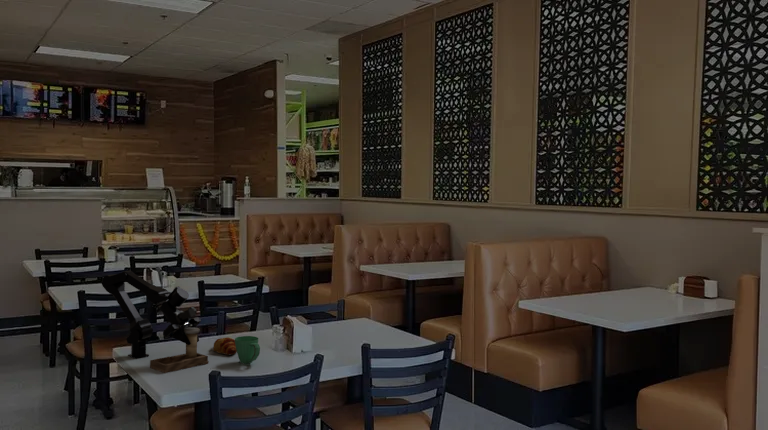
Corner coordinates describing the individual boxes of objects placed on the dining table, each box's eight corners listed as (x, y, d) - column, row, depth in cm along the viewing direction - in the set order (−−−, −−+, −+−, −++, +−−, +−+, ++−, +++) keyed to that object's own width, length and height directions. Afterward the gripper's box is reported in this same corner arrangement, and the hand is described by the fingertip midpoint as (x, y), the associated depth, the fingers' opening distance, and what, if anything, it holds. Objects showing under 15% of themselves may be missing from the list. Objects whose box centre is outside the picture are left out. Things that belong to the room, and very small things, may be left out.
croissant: (211, 354, 301) (203, 340, 299) (229, 342, 306) (222, 328, 304) (228, 364, 284) (220, 349, 281) (248, 351, 289) (240, 336, 286)
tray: (165, 373, 258) (165, 365, 258) (150, 367, 265) (150, 360, 265) (208, 363, 273) (208, 356, 273) (193, 358, 280) (193, 351, 280)
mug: (230, 361, 277) (230, 337, 277) (250, 357, 284) (251, 334, 283) (247, 369, 266) (247, 344, 266) (268, 365, 273) (268, 341, 272)
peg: (181, 360, 273) (181, 328, 273) (195, 358, 277) (196, 326, 276) (186, 363, 268) (187, 331, 268) (201, 361, 272) (201, 329, 272)
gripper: (169, 305, 264) (192, 335, 261) (197, 298, 282) (219, 326, 279) (153, 322, 267) (175, 352, 264) (182, 314, 285) (203, 342, 282)
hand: (194, 342), depth 272 cm, fingers closed on peg, 5 cm apart
